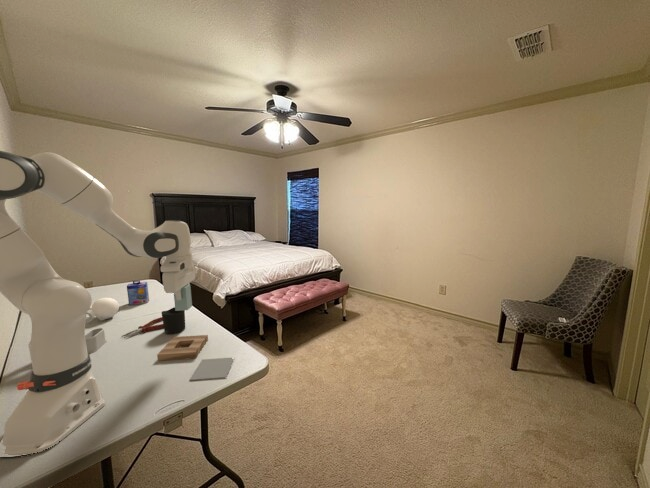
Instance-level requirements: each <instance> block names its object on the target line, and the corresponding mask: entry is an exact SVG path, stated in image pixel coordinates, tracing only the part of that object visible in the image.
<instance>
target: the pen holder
mask: <svg viewBox="0 0 650 488" xmlns="http://www.w3.org/2000/svg"><path fill="white" fill-rule="evenodd" d="M185 311H186V310H182V311H175V306H173V307H172V308H169V309H168V310H162V311H161V317H162V319H163V321H162V324H163V326H164V328H163V331H164V333H165V334H167V335H177V334H180V333H182V332H183V331H185V329H186V313H185Z"/></svg>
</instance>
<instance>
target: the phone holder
mask: <svg viewBox="0 0 650 488" xmlns="http://www.w3.org/2000/svg"><path fill="white" fill-rule="evenodd" d="M86 315H88V316H86V321H85V326H86V325H87V324H89V323H90V322H92V321H93V320H94V318H95V317H96V316H95V315H94V312H93V311H92V310H88V311H87V314H86ZM85 339H86V346H87V353H88V354H93V353H95V352H97V351H98V350H100V349H101V348H102V347H103V346H104V345H106V343H107V339H106V336H105V329H104V328H103V327H98V328H95V329H92V330H91V331H89V332H88V333H87V334H85Z"/></svg>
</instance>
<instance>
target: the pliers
mask: <svg viewBox="0 0 650 488" xmlns="http://www.w3.org/2000/svg"><path fill="white" fill-rule="evenodd" d="M161 322H163V319H162V316H161V317H158V318H154V319H153V320H151V321H149V322H147V323H146V324H144V325H140V326H138V327H137V328H136V329H133V330H132V331H128V332H127V333H125V334H122V335H121V338H124V339H126V338H129V337H133V336H137V335H139V334H142V333H143V334H146V333H148V332H152V331H156V330H162V329H163V330H164V326H163V323H161ZM158 323H161V324H158ZM155 324H156V325H155Z"/></svg>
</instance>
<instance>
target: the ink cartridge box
mask: <svg viewBox="0 0 650 488" xmlns="http://www.w3.org/2000/svg"><path fill="white" fill-rule="evenodd" d="M126 291H127V300H128V305H129V306H133V305H138V304H139V305H140V304H147V302H148V303H149V302H150V297H149V287H148V282H147V281H142V282H141V280H132V283H128V284H127V285H126Z"/></svg>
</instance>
